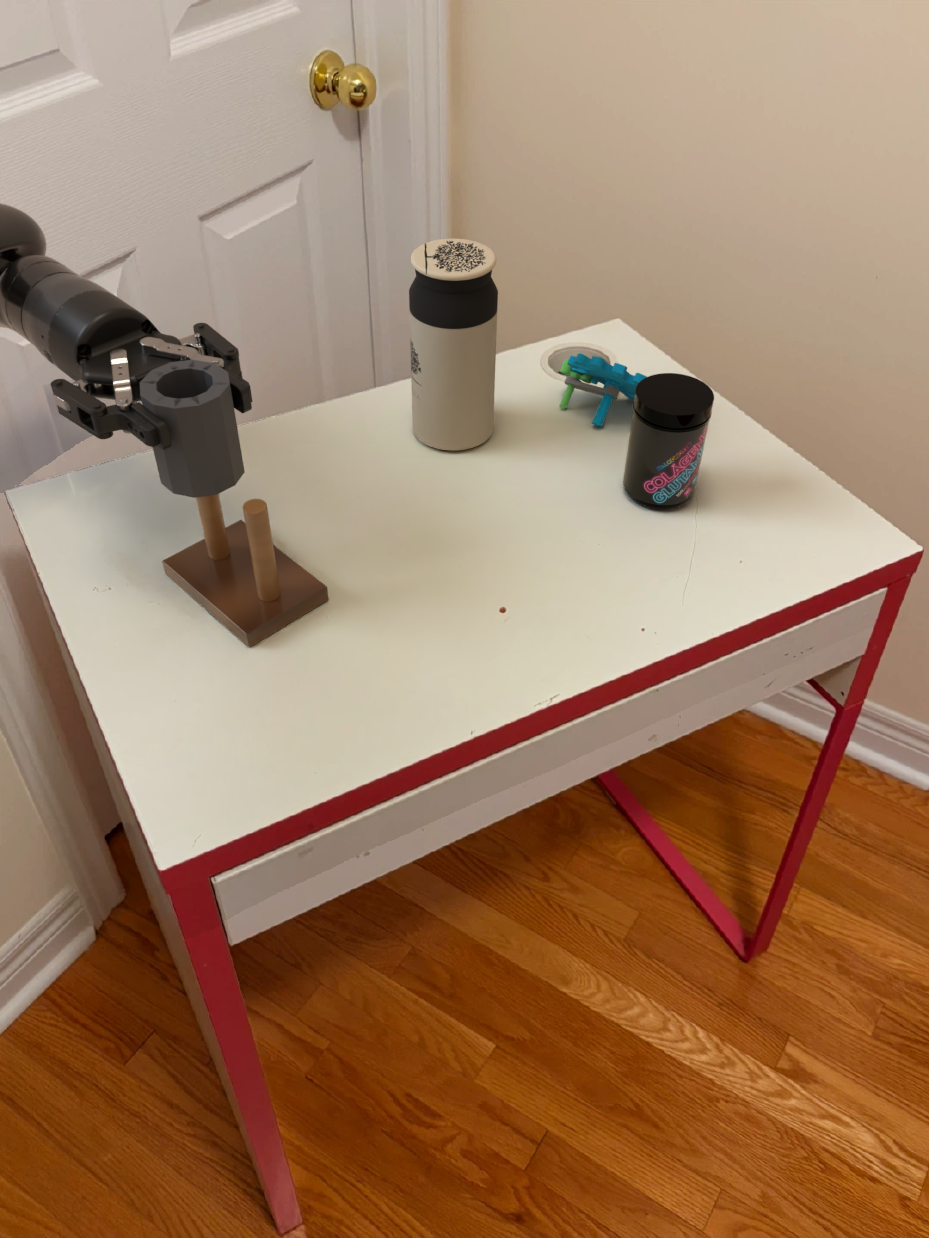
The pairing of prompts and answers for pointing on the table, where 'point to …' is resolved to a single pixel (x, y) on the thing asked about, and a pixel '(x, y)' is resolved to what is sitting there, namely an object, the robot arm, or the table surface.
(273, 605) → the rack
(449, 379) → the travel mug
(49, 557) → the table surface
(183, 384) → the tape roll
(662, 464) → the supplement container
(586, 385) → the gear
